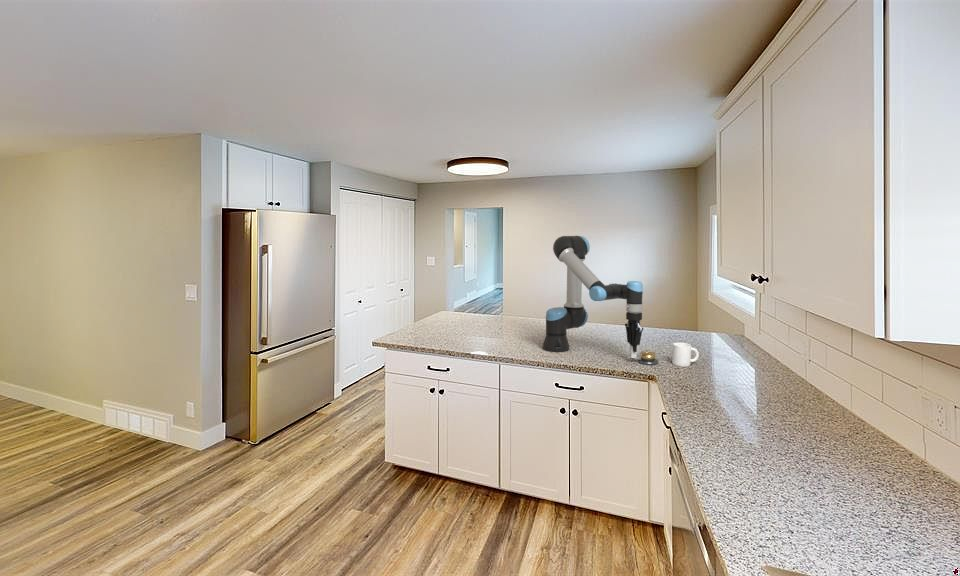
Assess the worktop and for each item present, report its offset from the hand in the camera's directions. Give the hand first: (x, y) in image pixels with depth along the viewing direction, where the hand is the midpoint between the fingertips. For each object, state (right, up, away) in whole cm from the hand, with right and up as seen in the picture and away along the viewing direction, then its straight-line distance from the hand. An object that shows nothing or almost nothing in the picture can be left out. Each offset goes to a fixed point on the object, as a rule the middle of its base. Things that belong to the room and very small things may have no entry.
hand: (633, 357), depth 213 cm
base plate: (+8, -2, +1) cm, 8 cm away
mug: (+24, -3, -4) cm, 25 cm away
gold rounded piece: (+5, -1, +1) cm, 5 cm away
